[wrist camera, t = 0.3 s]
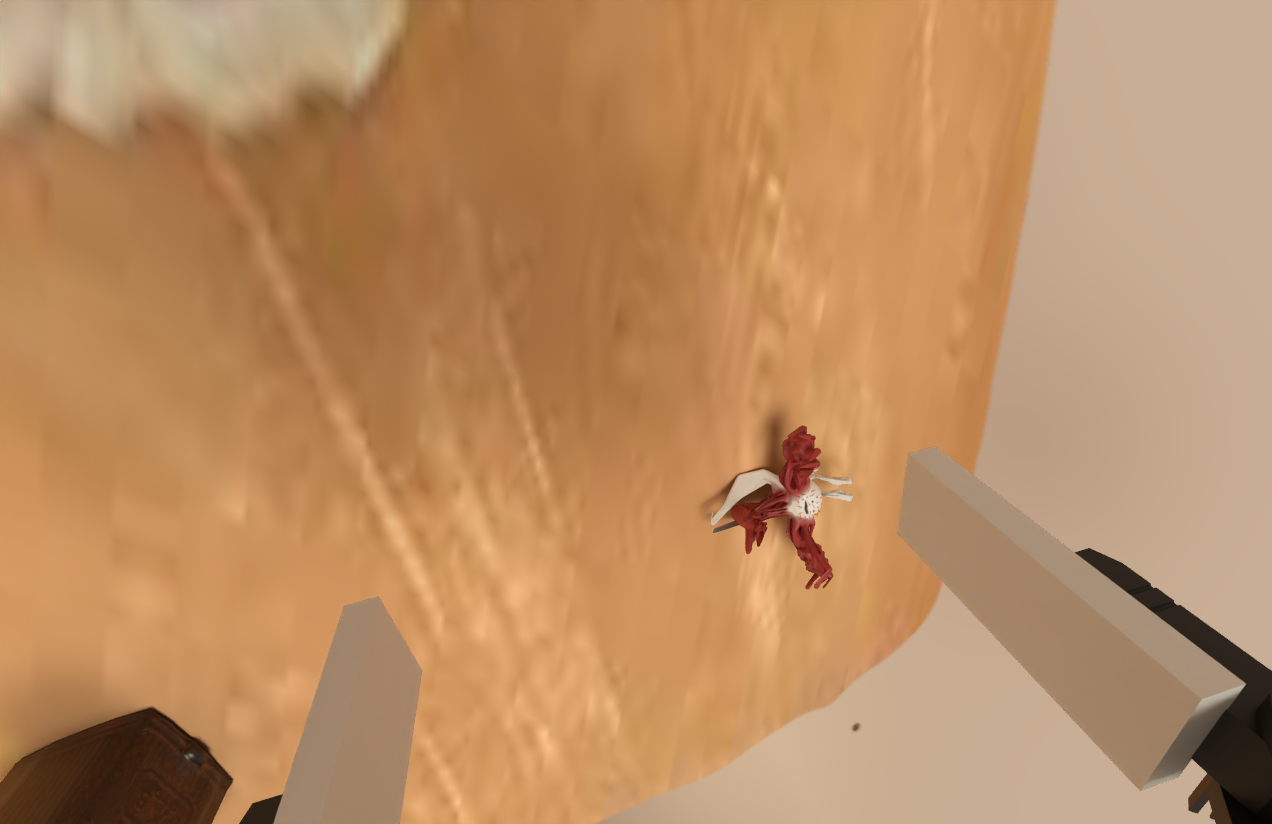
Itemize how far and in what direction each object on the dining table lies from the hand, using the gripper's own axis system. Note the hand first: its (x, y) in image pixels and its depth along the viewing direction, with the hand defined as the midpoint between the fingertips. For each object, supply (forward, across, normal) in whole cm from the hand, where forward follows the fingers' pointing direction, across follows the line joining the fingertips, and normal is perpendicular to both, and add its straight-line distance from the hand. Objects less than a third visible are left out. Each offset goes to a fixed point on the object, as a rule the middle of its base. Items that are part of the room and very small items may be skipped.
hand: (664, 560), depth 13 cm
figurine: (+24, +13, -20) cm, 34 cm away
